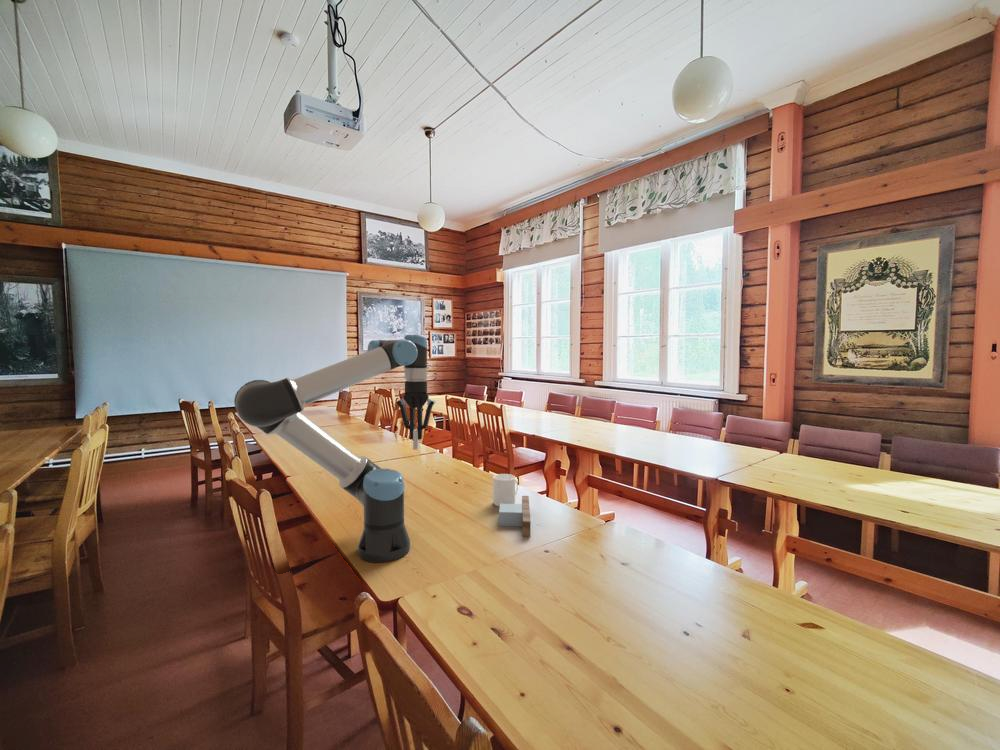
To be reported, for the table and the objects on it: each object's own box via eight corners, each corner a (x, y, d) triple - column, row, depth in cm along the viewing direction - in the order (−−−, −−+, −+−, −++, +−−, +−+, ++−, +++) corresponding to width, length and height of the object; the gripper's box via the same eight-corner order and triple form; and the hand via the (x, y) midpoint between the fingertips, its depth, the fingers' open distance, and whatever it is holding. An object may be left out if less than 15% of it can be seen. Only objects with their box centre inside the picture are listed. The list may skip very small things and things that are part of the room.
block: (522, 526, 146) (522, 512, 146) (499, 526, 147) (499, 512, 146) (521, 517, 154) (522, 504, 154) (500, 517, 155) (500, 503, 154)
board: (530, 536, 138) (530, 521, 138) (522, 536, 138) (522, 520, 138) (528, 508, 162) (528, 495, 162) (521, 508, 162) (521, 495, 162)
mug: (525, 501, 170) (525, 475, 169) (503, 509, 161) (503, 481, 161) (510, 496, 176) (510, 470, 175) (488, 503, 168) (488, 476, 167)
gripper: (437, 379, 148) (437, 446, 150) (400, 379, 149) (400, 445, 150) (432, 381, 141) (432, 451, 142) (393, 380, 141) (394, 451, 143)
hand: (416, 448), depth 146 cm, fingers closed
